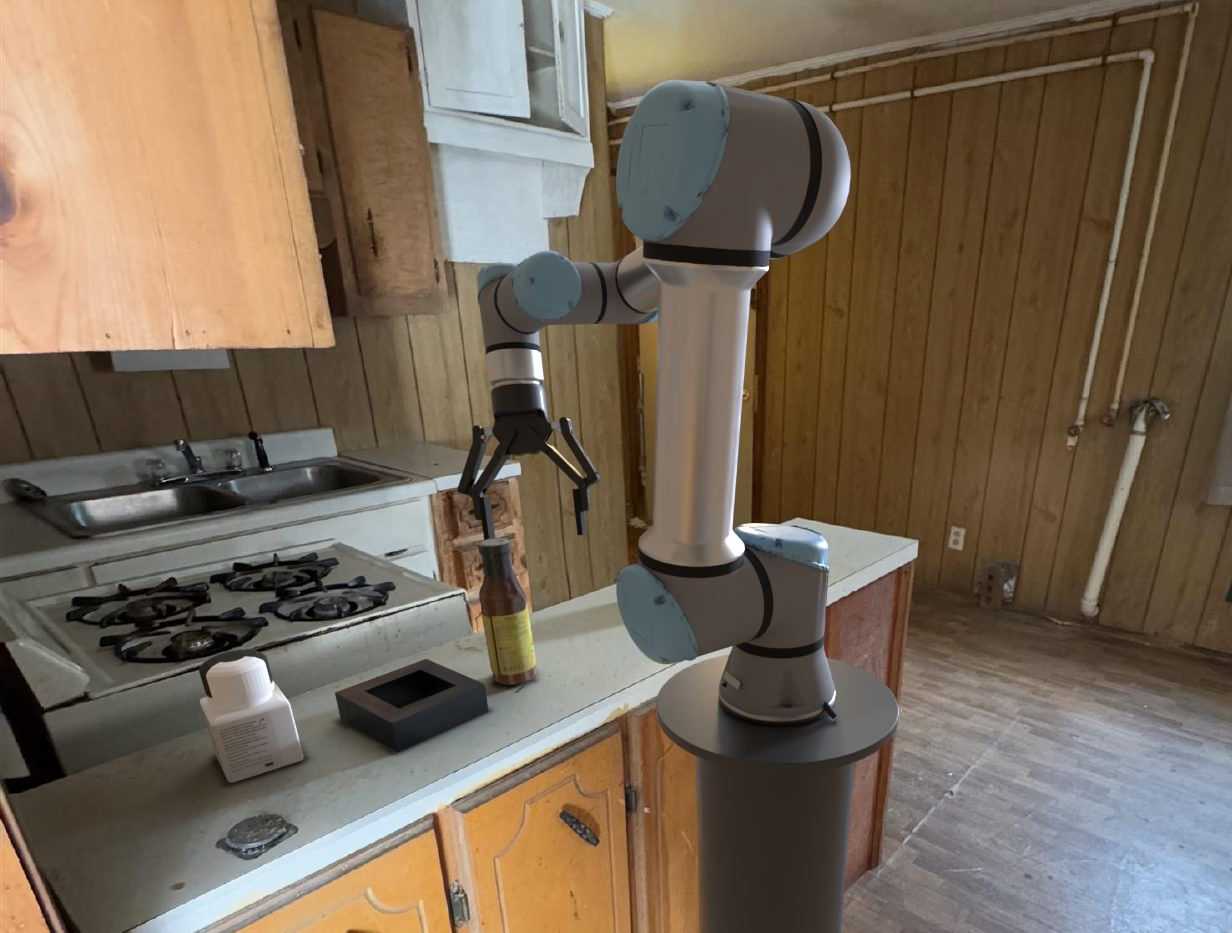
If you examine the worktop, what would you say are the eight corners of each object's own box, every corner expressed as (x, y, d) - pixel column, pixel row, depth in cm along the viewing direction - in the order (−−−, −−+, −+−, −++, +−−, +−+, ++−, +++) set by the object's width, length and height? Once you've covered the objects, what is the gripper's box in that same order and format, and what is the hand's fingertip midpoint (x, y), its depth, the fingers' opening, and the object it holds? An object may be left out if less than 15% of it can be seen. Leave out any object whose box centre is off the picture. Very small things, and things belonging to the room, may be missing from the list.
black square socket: (488, 711, 101) (485, 683, 100) (397, 752, 92) (392, 723, 90) (430, 684, 109) (426, 658, 107) (340, 720, 99) (334, 692, 98)
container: (216, 756, 91) (184, 655, 86) (288, 735, 96) (262, 637, 90) (229, 785, 86) (196, 678, 80) (305, 761, 90) (278, 658, 85)
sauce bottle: (546, 673, 112) (532, 538, 104) (518, 690, 107) (501, 550, 99) (509, 665, 114) (493, 533, 106) (480, 682, 109) (461, 544, 101)
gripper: (610, 382, 112) (625, 531, 116) (442, 399, 114) (462, 545, 117) (599, 373, 105) (616, 532, 108) (419, 390, 107) (442, 546, 110)
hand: (536, 539), depth 113 cm, fingers open, 13 cm apart
